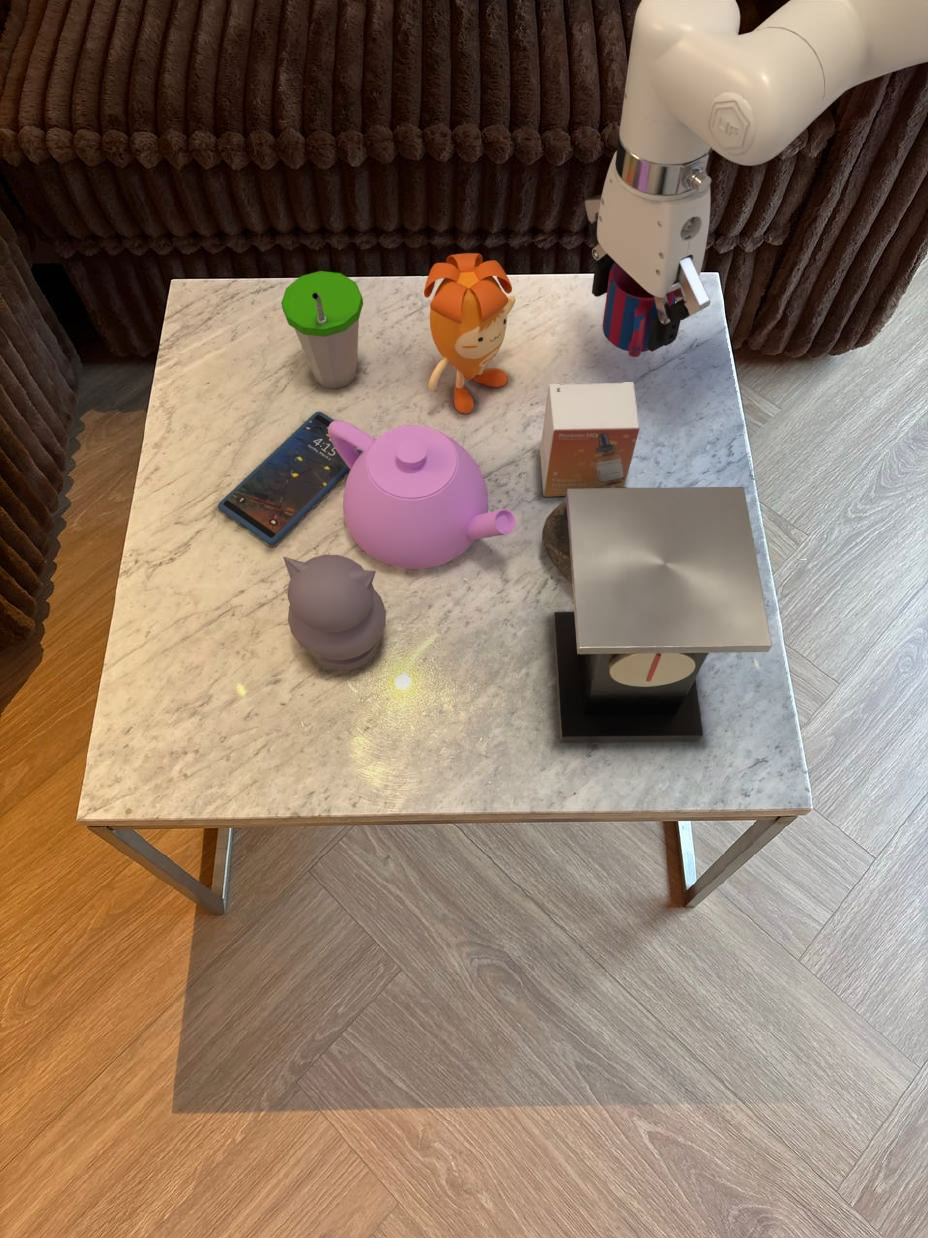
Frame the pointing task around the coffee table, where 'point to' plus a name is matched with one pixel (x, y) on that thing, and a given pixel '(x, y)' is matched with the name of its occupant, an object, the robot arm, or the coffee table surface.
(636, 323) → the cup
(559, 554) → the stone
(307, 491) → the smartphone
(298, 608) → the cat figurine
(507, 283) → the toy figure
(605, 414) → the small box
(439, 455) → the teapot
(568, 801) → the coffee table surface
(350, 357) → the cup
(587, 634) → the scale
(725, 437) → the coffee table surface
